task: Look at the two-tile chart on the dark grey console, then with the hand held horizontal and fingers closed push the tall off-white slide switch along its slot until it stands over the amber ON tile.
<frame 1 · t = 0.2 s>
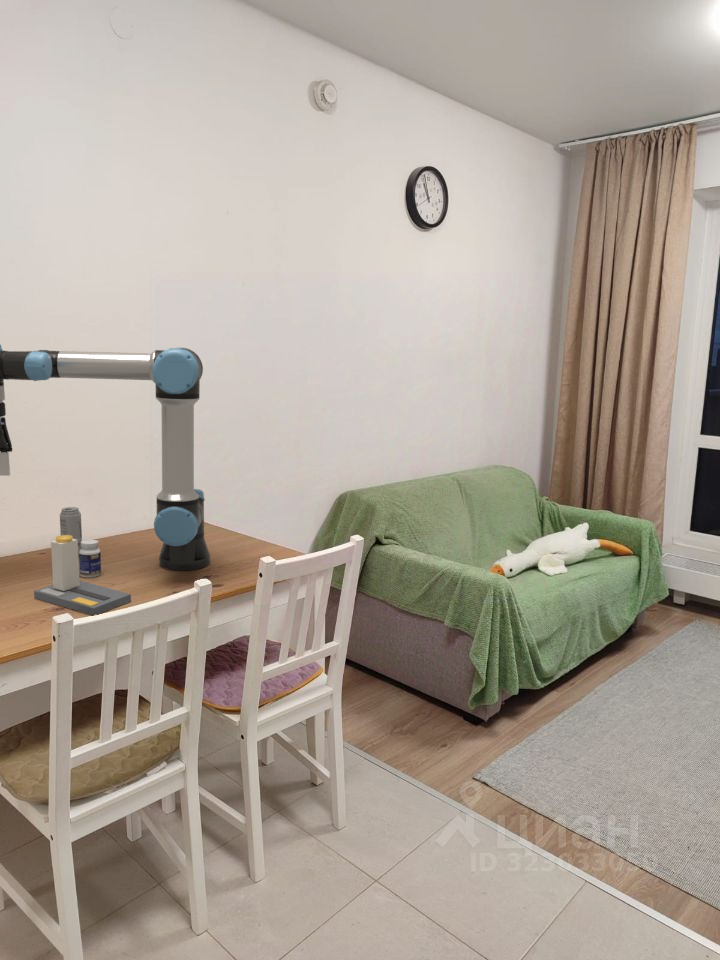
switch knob: (65, 562, 188), point 9 cm above the table, slide at 0.0 cm
console: (82, 599, 187), on the table
pill bottle: (90, 575, 206), on the table
energy drink can: (72, 556, 223), on the table
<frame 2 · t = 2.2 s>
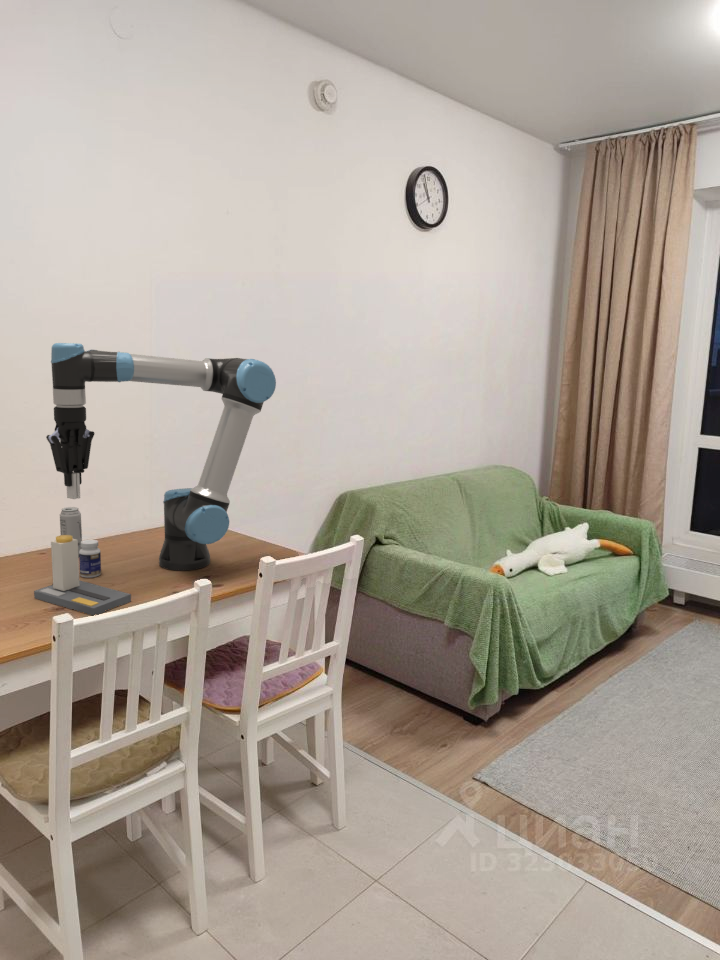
hand: (73, 497, 185), 26 cm above the table, tool pointing down, fingers closed
nothing on the table moved.
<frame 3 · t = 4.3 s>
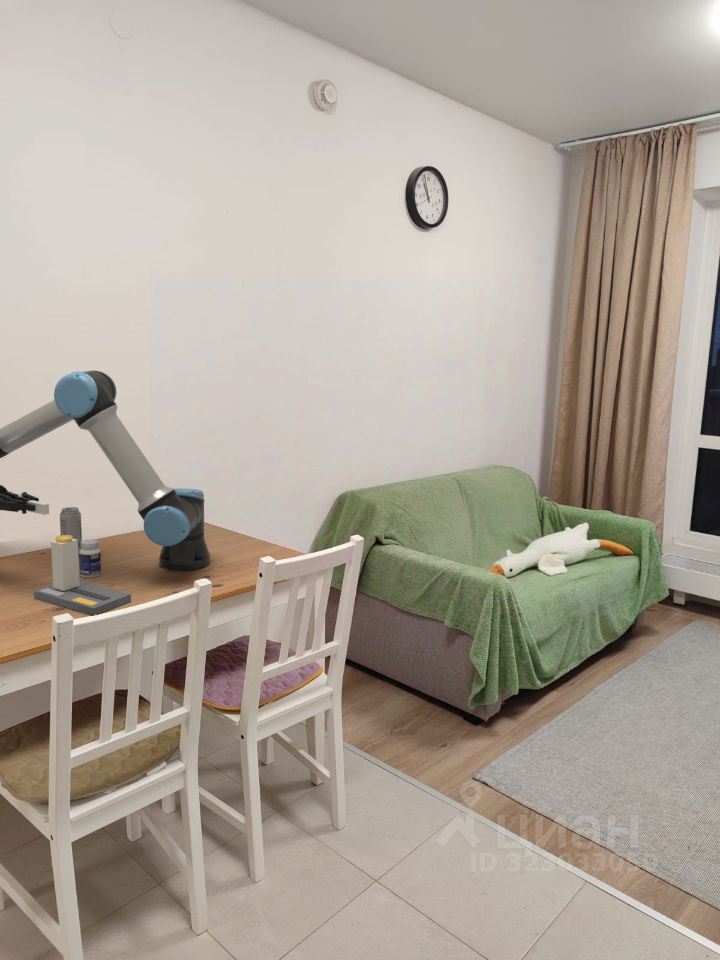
hand: (46, 509, 189), 22 cm above the table, tool horizontal, fingers closed
nothing on the table moved.
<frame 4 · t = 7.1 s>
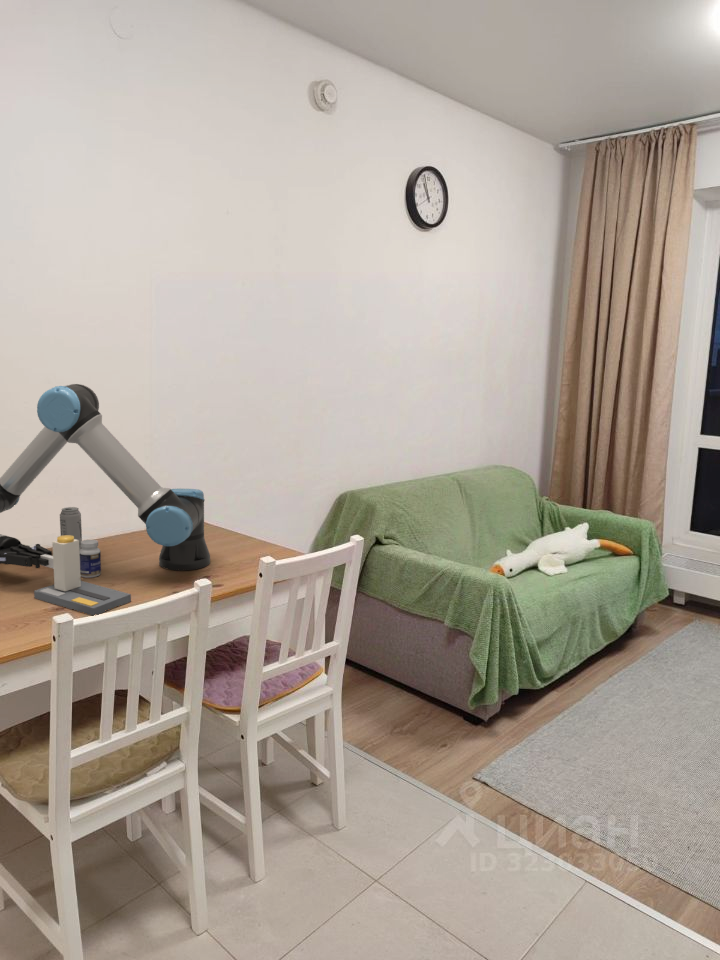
hand: (59, 564, 189), 8 cm above the table, tool horizontal, fingers closed
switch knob: (66, 562, 188), point 9 cm above the table, slide at 0.5 cm, touching gripper
everything else where it was.
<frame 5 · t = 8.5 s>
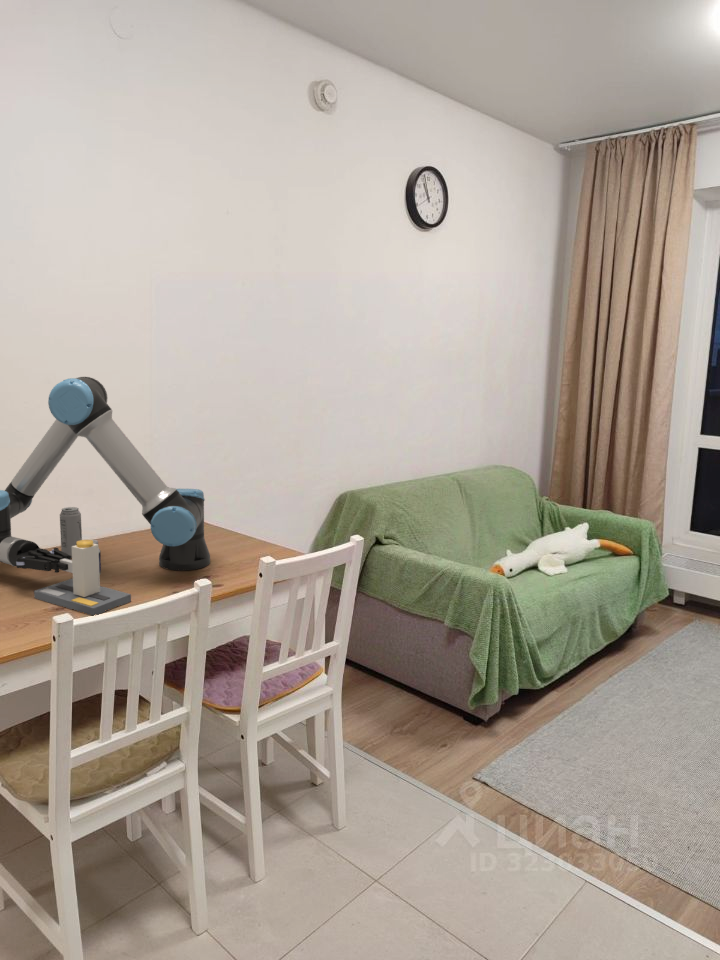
hand: (79, 568, 186), 8 cm above the table, tool horizontal, fingers closed
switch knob: (85, 567, 185), point 9 cm above the table, slide at 7.7 cm, touching gripper
everything else where it was.
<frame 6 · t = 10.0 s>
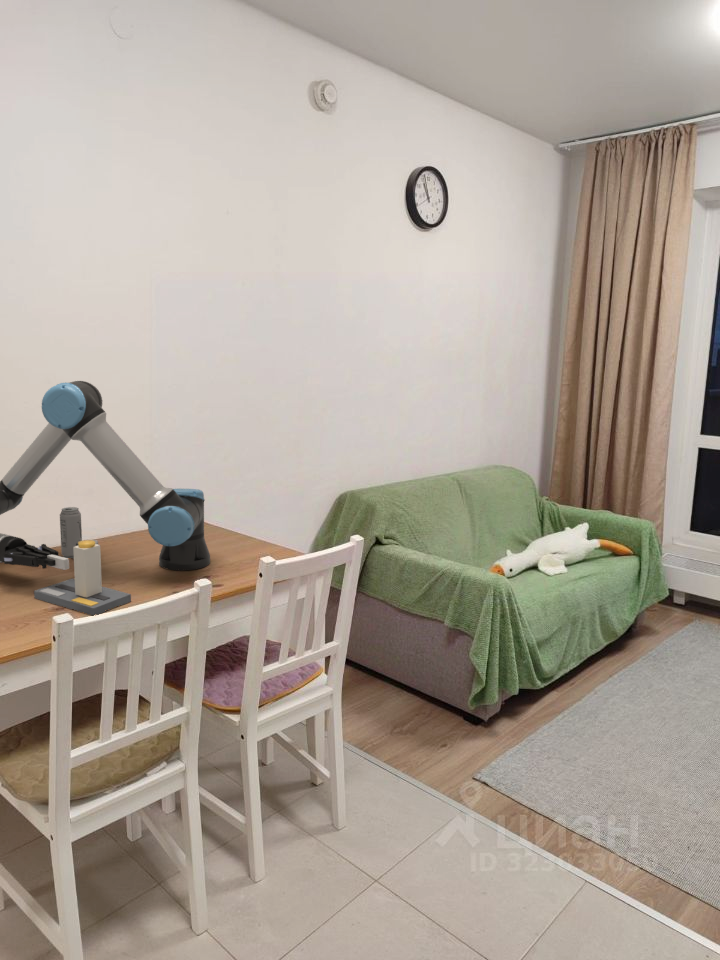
hand: (66, 564, 188), 9 cm above the table, tool horizontal, fingers closed
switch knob: (87, 567, 184), point 9 cm above the table, slide at 8.4 cm
everything else where it was.
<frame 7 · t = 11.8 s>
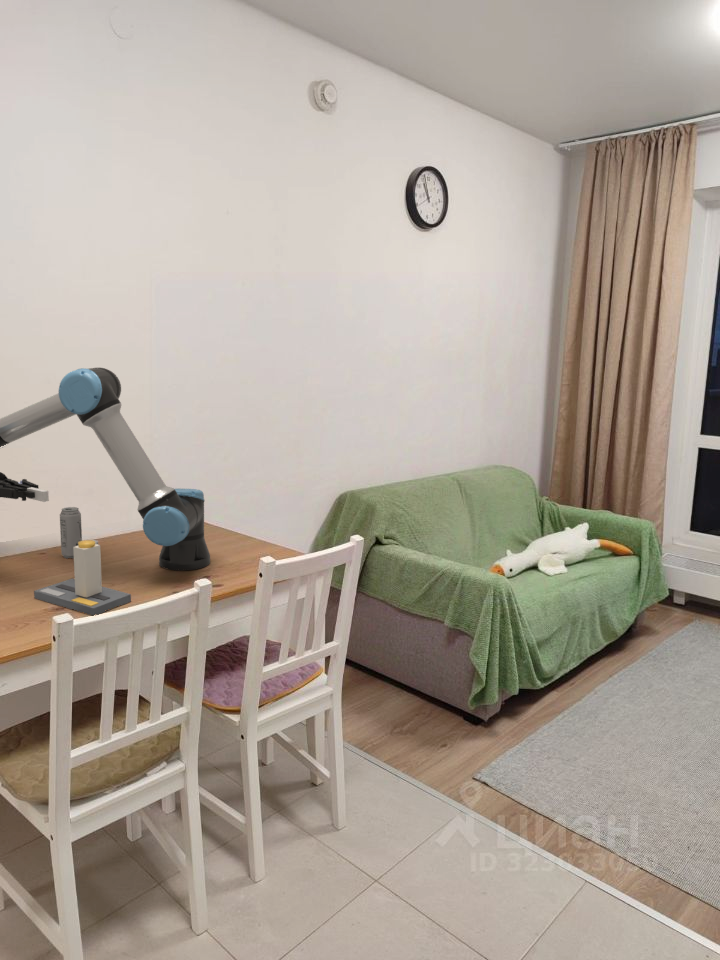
hand: (46, 496, 189), 26 cm above the table, tool horizontal, fingers closed
nothing on the table moved.
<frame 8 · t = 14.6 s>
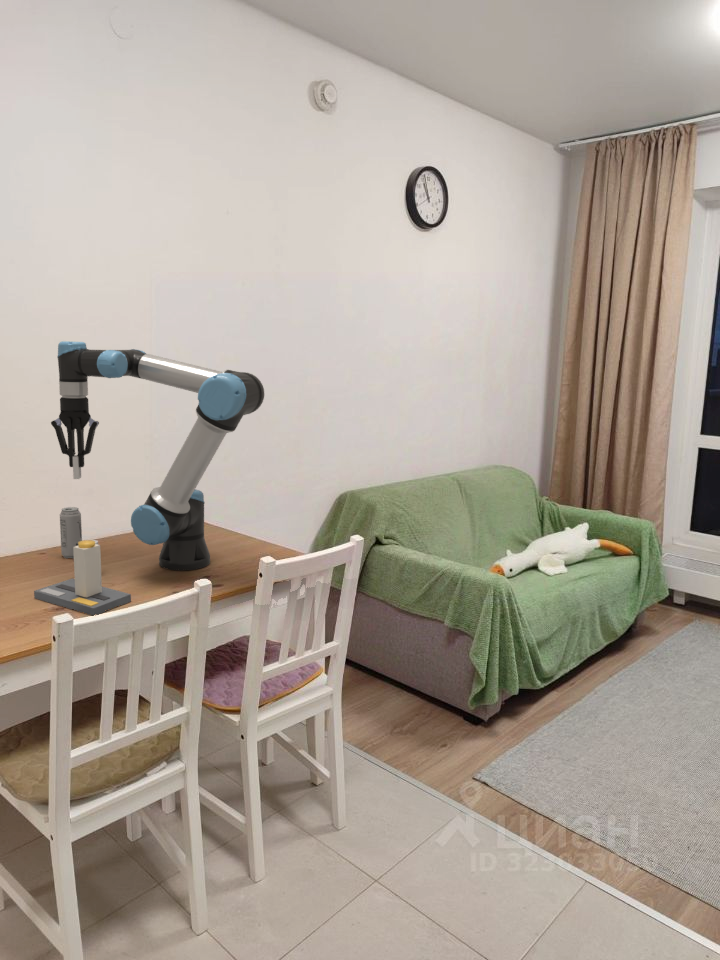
hand: (77, 478, 210), 26 cm above the table, tool pointing down, fingers closed
nothing on the table moved.
at the end: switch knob slide at 8.4 cm; the gripper is holding nothing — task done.
